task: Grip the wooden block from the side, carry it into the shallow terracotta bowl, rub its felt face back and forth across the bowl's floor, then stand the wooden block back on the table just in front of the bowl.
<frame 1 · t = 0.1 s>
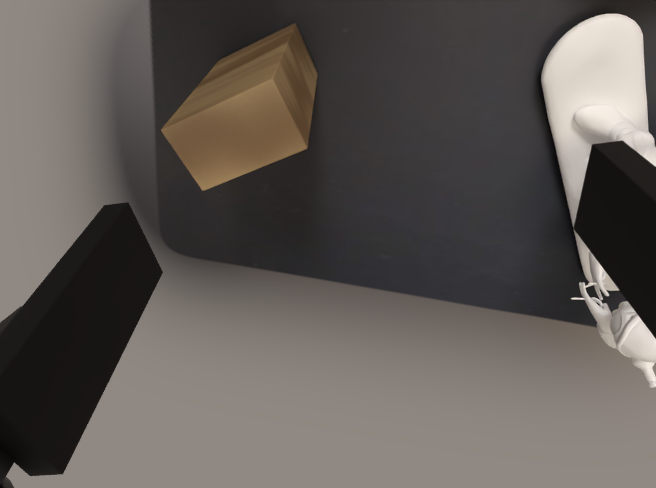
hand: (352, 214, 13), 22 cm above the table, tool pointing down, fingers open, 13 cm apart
wooden block: (269, 65, 31), on the table
figurine: (601, 170, 36), on the table
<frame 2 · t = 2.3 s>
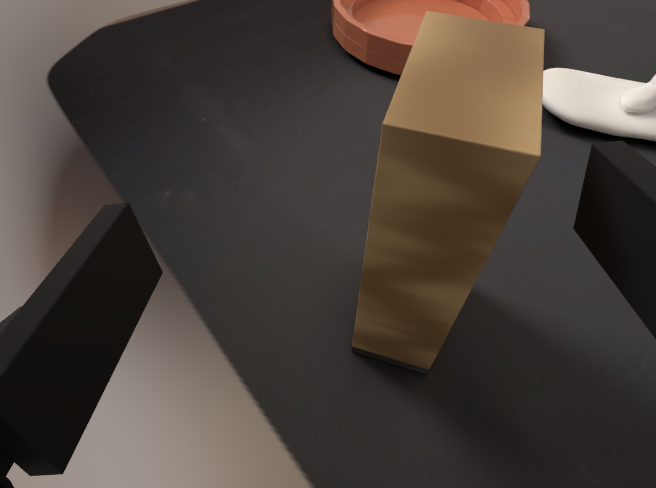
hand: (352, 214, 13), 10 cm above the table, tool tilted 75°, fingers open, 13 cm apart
bowl: (423, 32, 39), on the table
wooden block: (401, 309, 22), on the table
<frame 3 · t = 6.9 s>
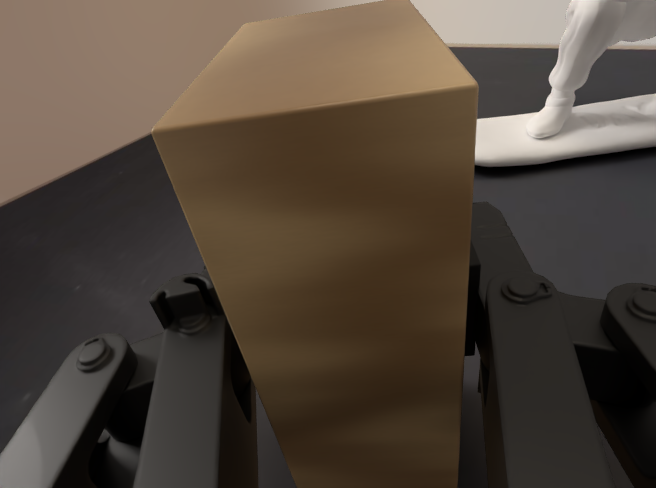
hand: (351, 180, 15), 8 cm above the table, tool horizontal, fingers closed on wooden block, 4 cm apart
wooden block: (381, 454, 15), on the table, touching gripper
figurine: (624, 135, 30), on the table
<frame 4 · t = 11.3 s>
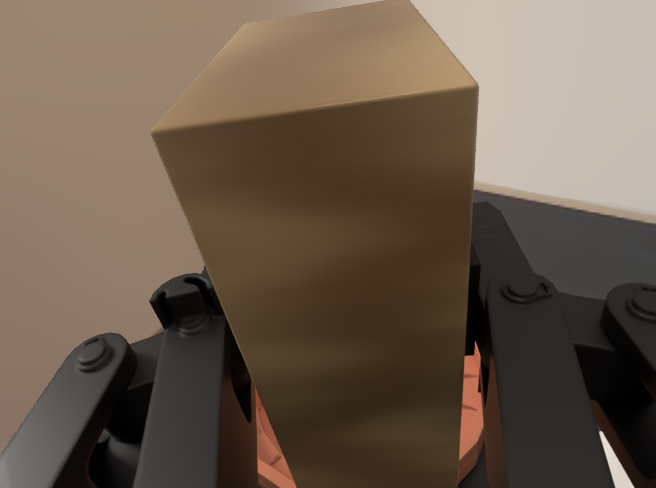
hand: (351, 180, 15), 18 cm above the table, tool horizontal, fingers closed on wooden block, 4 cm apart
bowl: (358, 391, 29), on the table
wooden block: (381, 454, 15), point 10 cm above the table, touching gripper
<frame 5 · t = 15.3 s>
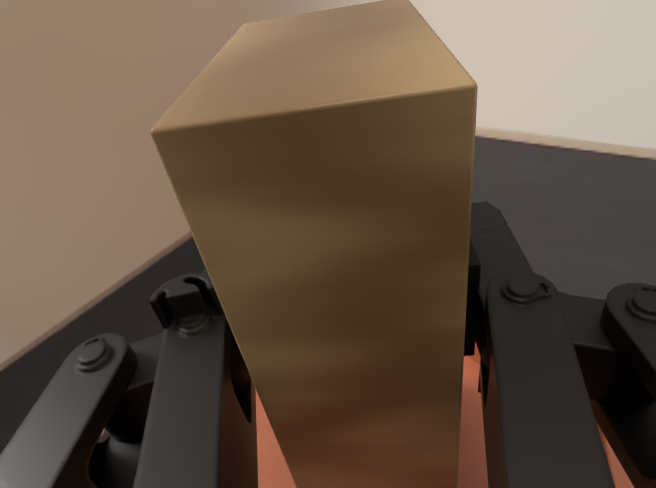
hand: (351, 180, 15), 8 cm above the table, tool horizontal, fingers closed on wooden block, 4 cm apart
bowl: (344, 465, 15), on the table
wooden block: (380, 454, 15), point 1 cm above the table, touching gripper
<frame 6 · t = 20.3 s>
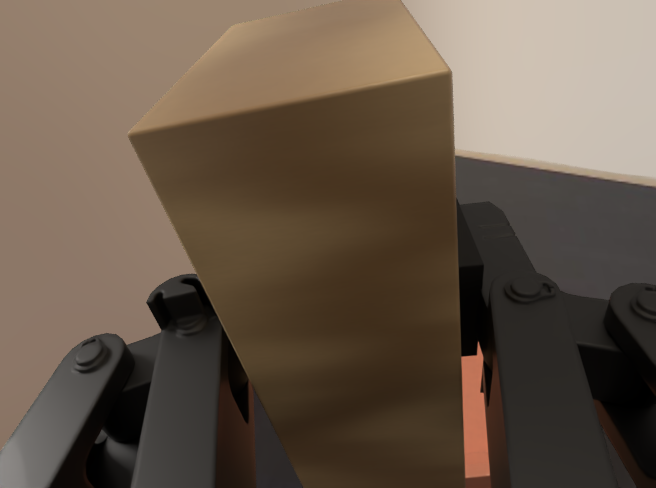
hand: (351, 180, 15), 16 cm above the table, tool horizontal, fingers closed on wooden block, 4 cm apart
bowl: (437, 366, 27), on the table
wooden block: (391, 451, 15), point 9 cm above the table, touching gripper
when the fingers open (7 cm above the table, at t = 24.0 s): wooden block stays where it is, on the table.
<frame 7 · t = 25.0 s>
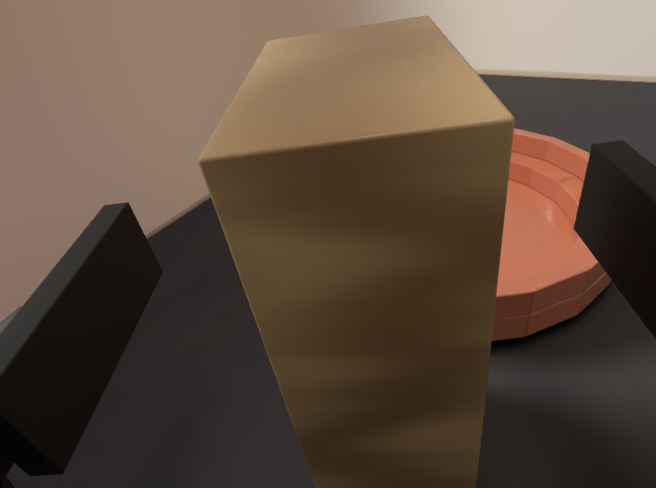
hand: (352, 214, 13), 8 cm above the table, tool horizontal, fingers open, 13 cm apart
bowl: (444, 235, 24), on the table
wooden block: (394, 459, 15), on the table
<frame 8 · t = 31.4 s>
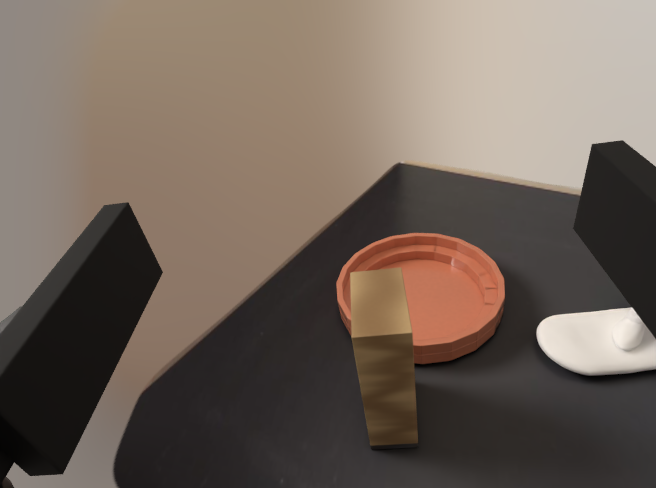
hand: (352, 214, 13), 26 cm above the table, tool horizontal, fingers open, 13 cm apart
bowl: (418, 302, 45), on the table
wooden block: (391, 413, 36), on the table
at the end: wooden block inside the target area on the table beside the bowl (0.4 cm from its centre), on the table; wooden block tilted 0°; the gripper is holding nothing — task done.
